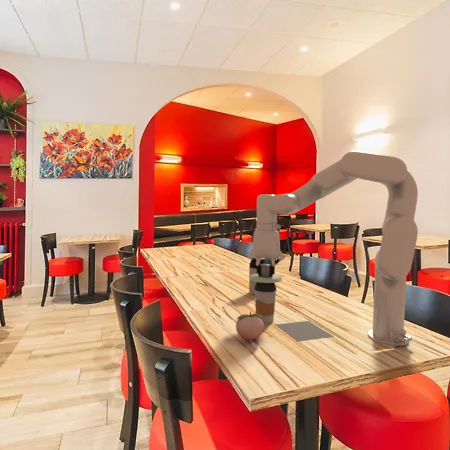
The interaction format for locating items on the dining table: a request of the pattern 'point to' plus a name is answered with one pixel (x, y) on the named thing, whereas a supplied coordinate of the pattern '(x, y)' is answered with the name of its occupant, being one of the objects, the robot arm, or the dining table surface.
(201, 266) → the dining table surface
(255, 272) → the travel mug
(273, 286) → the coffee cup
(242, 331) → the decorative fruit
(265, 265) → the lid
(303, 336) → the mat
